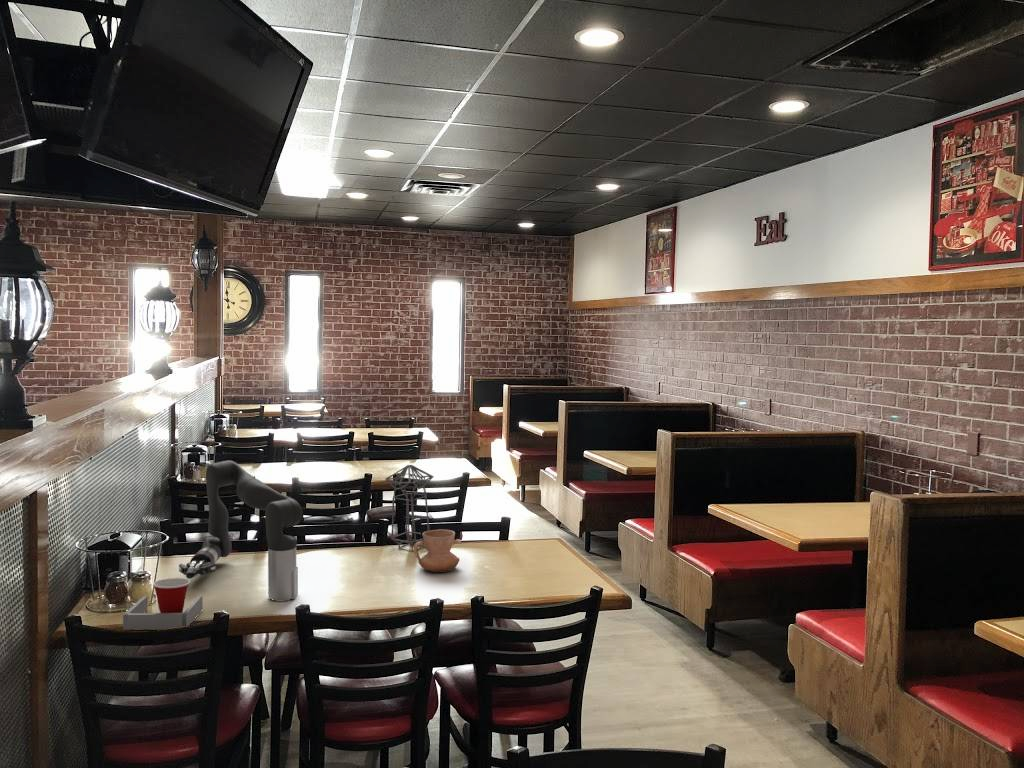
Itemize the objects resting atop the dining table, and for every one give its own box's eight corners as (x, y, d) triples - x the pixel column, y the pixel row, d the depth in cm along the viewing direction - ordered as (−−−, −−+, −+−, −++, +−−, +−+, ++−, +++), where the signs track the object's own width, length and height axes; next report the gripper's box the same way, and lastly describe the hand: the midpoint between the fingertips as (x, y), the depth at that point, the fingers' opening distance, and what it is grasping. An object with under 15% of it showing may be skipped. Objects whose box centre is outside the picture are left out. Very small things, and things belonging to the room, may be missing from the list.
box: (202, 610, 256) (202, 595, 256) (186, 630, 240) (186, 614, 240) (143, 611, 254) (143, 596, 254) (123, 631, 238) (122, 615, 238)
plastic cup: (198, 614, 253) (197, 577, 252) (176, 626, 243) (175, 588, 242) (168, 610, 256) (167, 574, 255) (145, 623, 245) (144, 585, 244)
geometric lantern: (413, 555, 320) (411, 469, 317) (384, 549, 328) (382, 466, 326) (437, 546, 333) (436, 463, 330) (408, 540, 342) (407, 460, 339)
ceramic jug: (460, 563, 311) (459, 527, 310) (462, 574, 297) (462, 536, 296) (413, 565, 309) (413, 529, 308) (414, 576, 295) (413, 538, 294)
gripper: (185, 550, 288) (169, 565, 271) (222, 550, 289) (209, 564, 272) (185, 570, 289) (169, 586, 271) (223, 570, 290) (209, 586, 273)
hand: (189, 575), depth 272 cm, fingers closed
